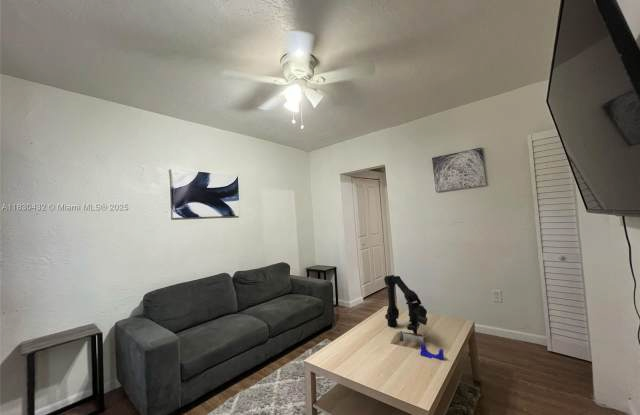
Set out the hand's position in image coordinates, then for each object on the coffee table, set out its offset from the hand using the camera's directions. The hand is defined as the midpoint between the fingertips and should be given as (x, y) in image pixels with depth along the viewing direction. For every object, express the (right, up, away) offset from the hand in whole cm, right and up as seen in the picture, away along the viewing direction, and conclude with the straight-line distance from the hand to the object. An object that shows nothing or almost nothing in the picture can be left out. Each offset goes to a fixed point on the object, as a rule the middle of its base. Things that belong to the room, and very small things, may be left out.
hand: (416, 335), depth 173 cm
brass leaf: (-2, -3, -1) cm, 4 cm away
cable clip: (+2, -4, -20) cm, 21 cm away
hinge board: (-4, -5, 0) cm, 6 cm away
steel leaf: (-4, -4, -2) cm, 6 cm away
